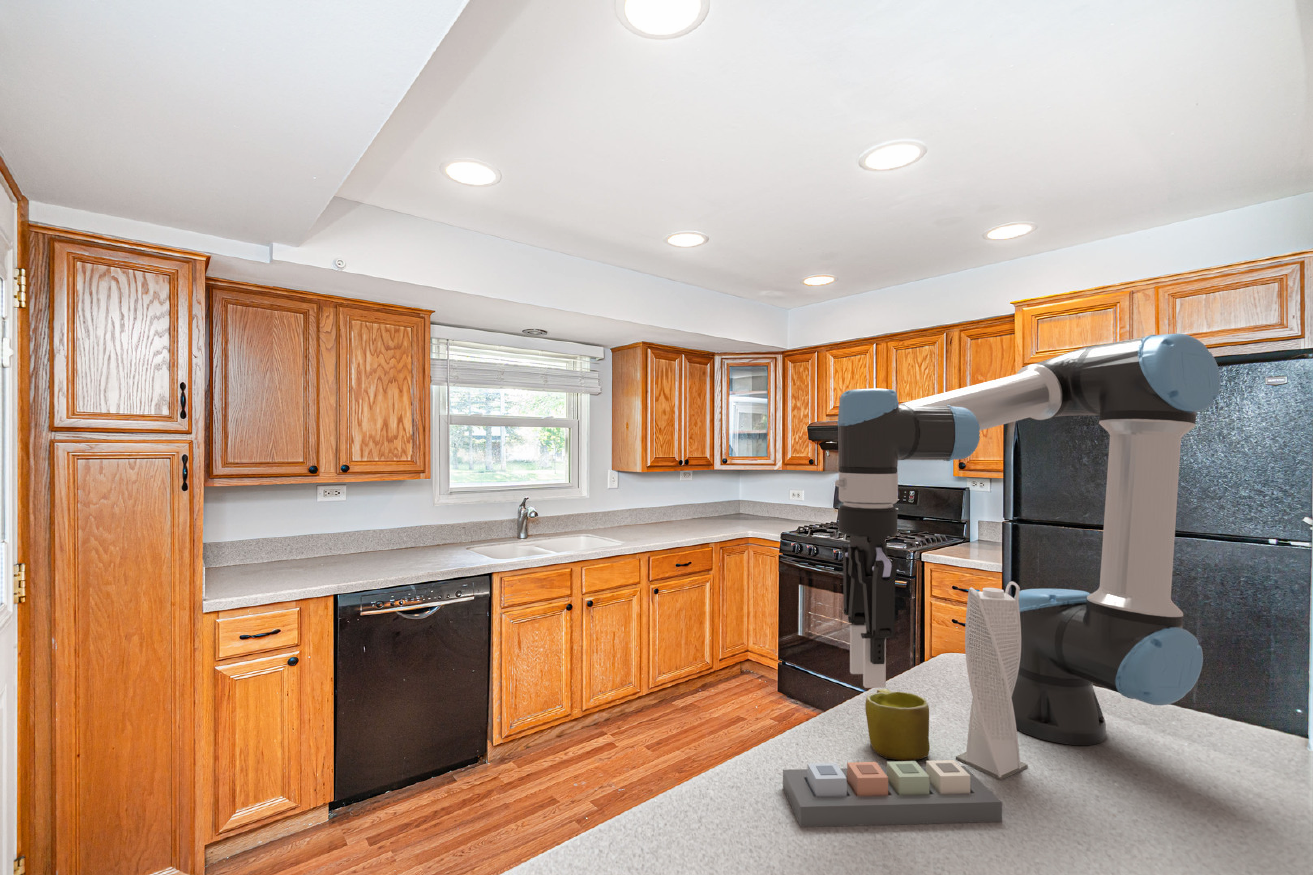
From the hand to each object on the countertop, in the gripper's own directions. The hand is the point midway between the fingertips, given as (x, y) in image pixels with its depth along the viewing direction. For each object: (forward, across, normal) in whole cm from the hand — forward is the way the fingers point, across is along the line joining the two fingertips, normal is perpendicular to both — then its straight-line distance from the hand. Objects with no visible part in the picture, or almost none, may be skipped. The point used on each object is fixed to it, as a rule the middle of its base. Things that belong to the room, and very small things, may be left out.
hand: (867, 679), depth 84 cm
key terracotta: (+15, 0, 0) cm, 15 cm away
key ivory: (+15, 0, +11) cm, 19 cm away
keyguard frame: (+17, 0, +3) cm, 17 cm away
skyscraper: (+17, -9, +23) cm, 30 cm away
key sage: (+15, 0, +6) cm, 16 cm away
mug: (+17, -16, +11) cm, 26 cm away
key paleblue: (+15, 0, -6) cm, 16 cm away
